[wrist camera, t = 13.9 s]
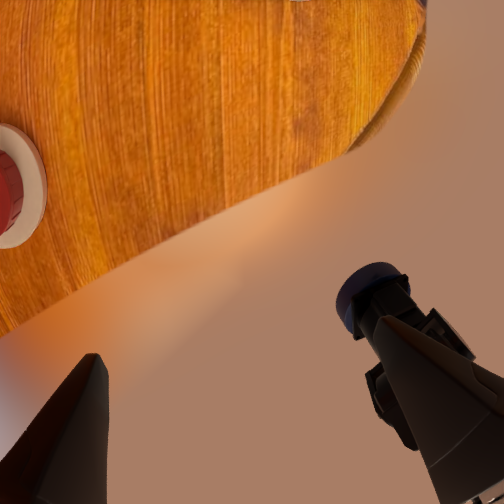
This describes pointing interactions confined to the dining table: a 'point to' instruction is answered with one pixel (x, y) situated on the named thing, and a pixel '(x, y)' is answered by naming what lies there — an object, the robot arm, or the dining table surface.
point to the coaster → (24, 184)
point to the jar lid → (9, 192)
